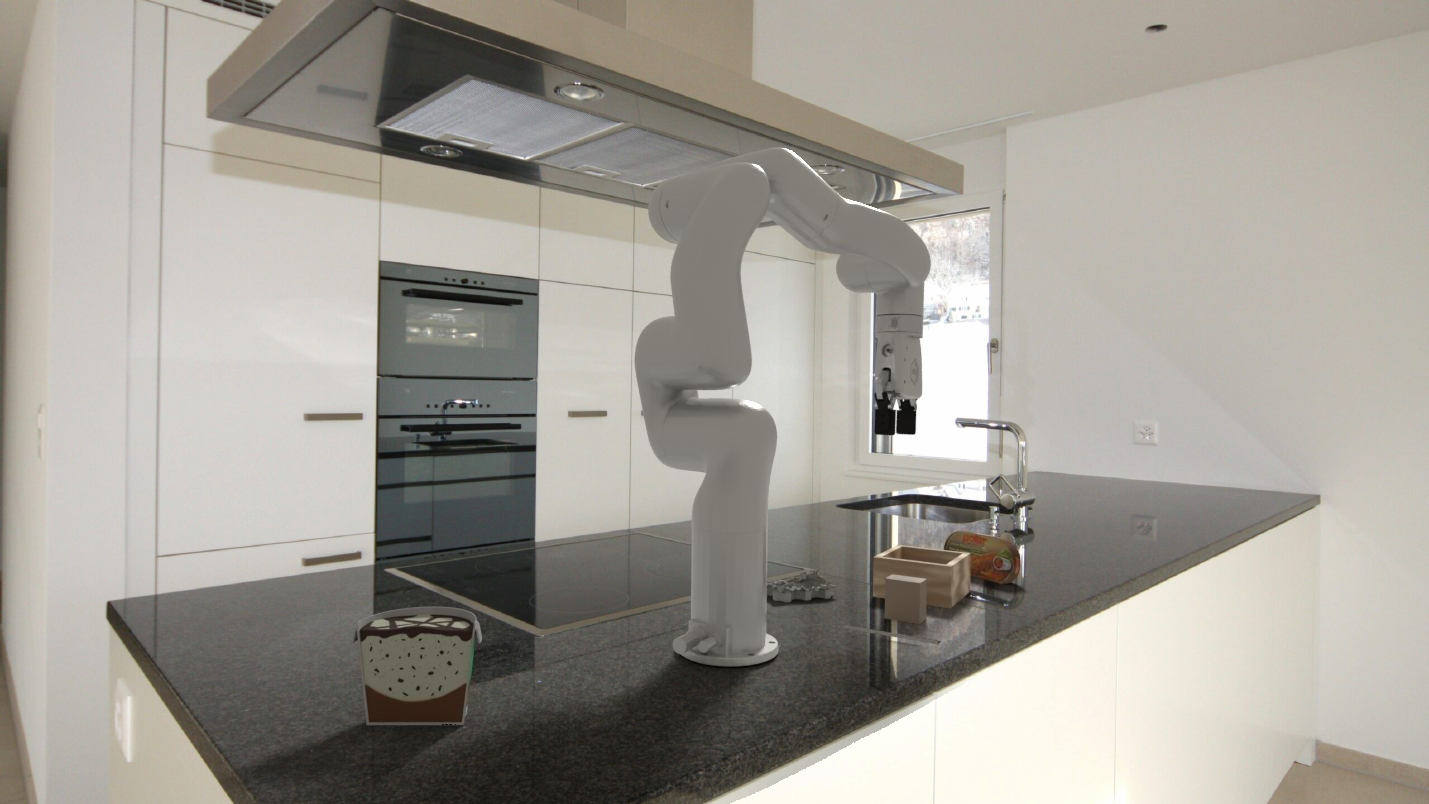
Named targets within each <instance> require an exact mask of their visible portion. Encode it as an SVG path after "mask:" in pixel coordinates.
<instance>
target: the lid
mask: <svg viewBox="0 0 1429 804" xmlns="http://www.w3.org/2000/svg"><path fill="white" fill-rule="evenodd" d="M926 595H927V579H923V578H916V577H908V576H901V575H893V574H892V575H890V576H889V577H887V578H885V599H884V619H885V620H892V621H898V622H904V623H911V624H916V625H921V624H922V623H923V622H925V621H927V605H926ZM843 629H847V630H852V631H859V632H865V633H871V634H875V635H881V636H888V637H892V638H899V639H903V640H904V639H905V640H910V641H916V642H921V643H927V644H931V645H932V644H933V645H937V646H938V645H939V644H941V642H942V641H941V640H936V639H929V638H925V637H924V638H923V637H918V636H913V635H907V634H902V633H896V632H890V631H884V630H878V629H873V628H872V629H871V628H866V627H860V626H854V625H848V624H844V628H843Z"/></svg>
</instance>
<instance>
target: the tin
mask: <svg viewBox="0 0 1429 804" xmlns="http://www.w3.org/2000/svg"><path fill="white" fill-rule="evenodd" d="M943 550H948V551H957V552H966V553H971V568H970V577H974V578H979V579H982V580H986V581H991V582H993V583H997V584H999V585H1008V584H1011V583H1014V581H1016V580H1017V578H1018V577H1019V575H1020V570H1021V556H1020V555H1021V554H1020V551H1019V550H1018V548H1017V546H1016V545H1015V544H1014V543H1013V542H1012V541H1011V540H1009V539H1008V538H1005V537H1001V536H996V535H989V534H984V533H978V532H973V531H965V530H964V531H963V530H957V531H954V532H952V533H951V534H950V535H949V536H947V538H946V540H945V542H944V546H943Z"/></svg>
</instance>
